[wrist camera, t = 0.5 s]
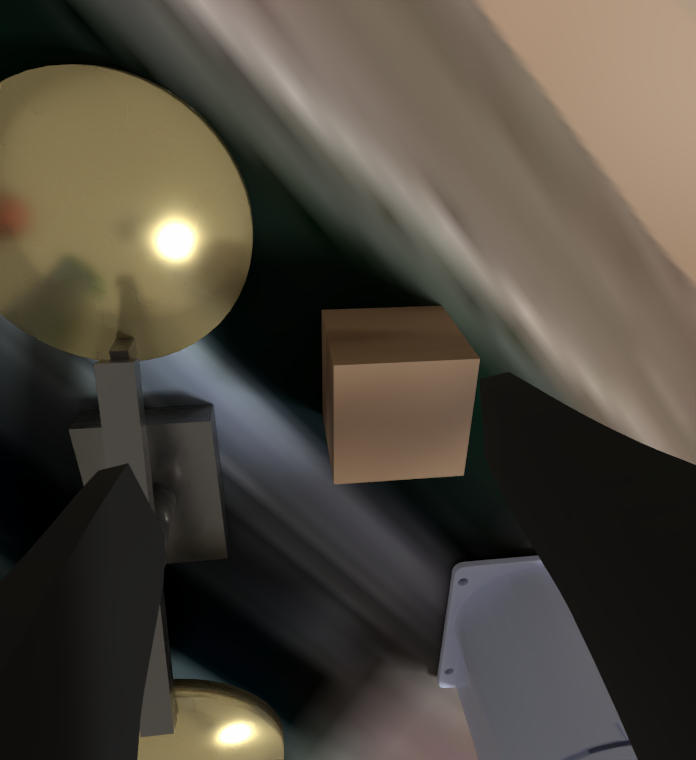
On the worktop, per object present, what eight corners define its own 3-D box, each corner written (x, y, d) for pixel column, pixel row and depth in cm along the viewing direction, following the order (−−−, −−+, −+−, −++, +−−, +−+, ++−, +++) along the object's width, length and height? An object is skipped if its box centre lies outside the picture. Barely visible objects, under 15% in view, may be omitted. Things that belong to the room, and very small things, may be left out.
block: (431, 407, 24) (463, 475, 20) (322, 413, 23) (333, 484, 19) (441, 305, 21) (479, 358, 17) (321, 308, 21) (333, 365, 17)
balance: (284, 690, 31) (288, 830, 26) (114, 709, 30) (78, 858, 25) (242, 66, 17) (229, 67, 11) (-89, 61, 16) (-292, 61, 10)
